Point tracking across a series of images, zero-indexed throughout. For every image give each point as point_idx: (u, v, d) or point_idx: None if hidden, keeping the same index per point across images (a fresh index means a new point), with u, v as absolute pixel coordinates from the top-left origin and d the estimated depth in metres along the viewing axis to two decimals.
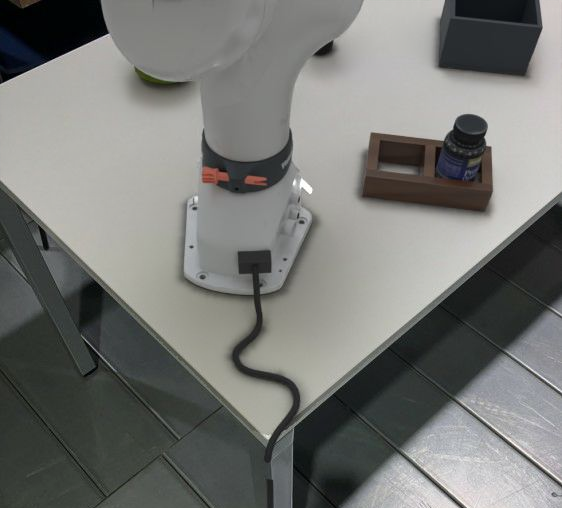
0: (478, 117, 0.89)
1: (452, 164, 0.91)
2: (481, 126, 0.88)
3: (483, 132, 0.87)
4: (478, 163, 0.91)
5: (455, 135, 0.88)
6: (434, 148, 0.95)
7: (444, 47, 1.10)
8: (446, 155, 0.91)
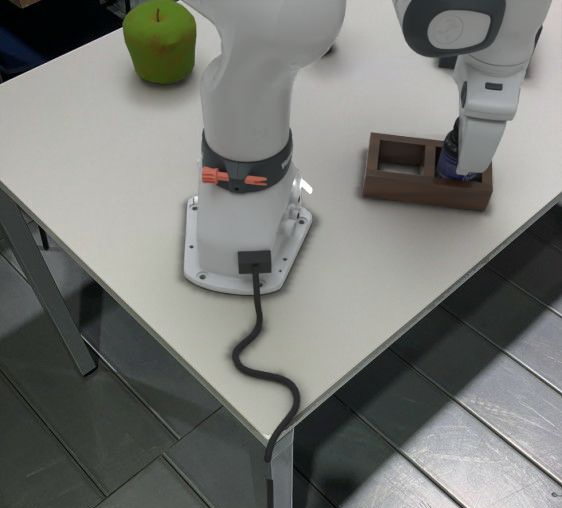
0: None
1: (452, 164, 0.91)
2: None
3: None
4: None
5: (455, 135, 0.88)
6: (434, 148, 0.95)
7: None
8: (446, 155, 0.91)
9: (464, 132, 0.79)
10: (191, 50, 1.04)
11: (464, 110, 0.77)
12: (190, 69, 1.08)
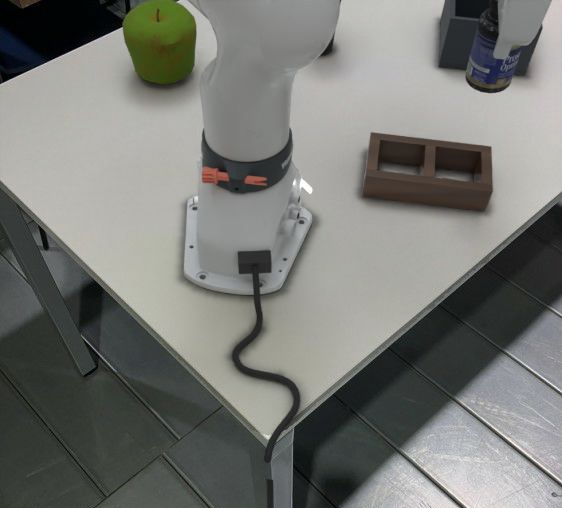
0: None
1: (489, 48, 0.77)
2: None
3: None
4: (519, 47, 0.78)
5: (492, 10, 0.75)
6: (434, 148, 0.95)
7: (444, 47, 1.10)
8: (481, 38, 0.77)
9: None
10: (191, 50, 1.04)
11: None
12: (190, 69, 1.08)
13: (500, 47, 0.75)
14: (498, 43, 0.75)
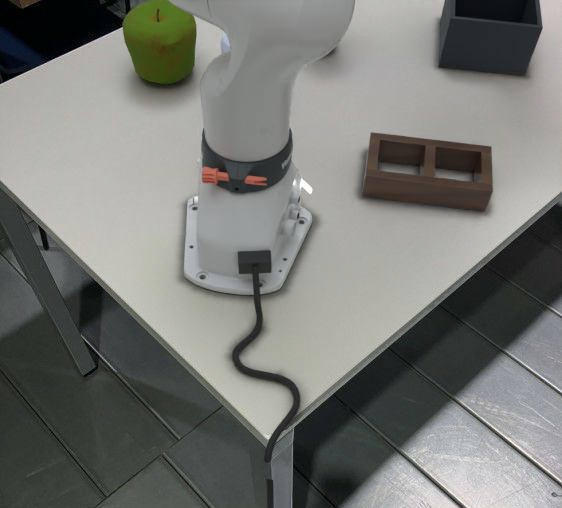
0: None
1: None
2: None
3: None
4: None
5: None
6: (434, 148, 0.95)
7: (444, 47, 1.10)
8: None
9: None
10: (191, 50, 1.04)
11: None
12: (190, 69, 1.08)
13: None
14: None
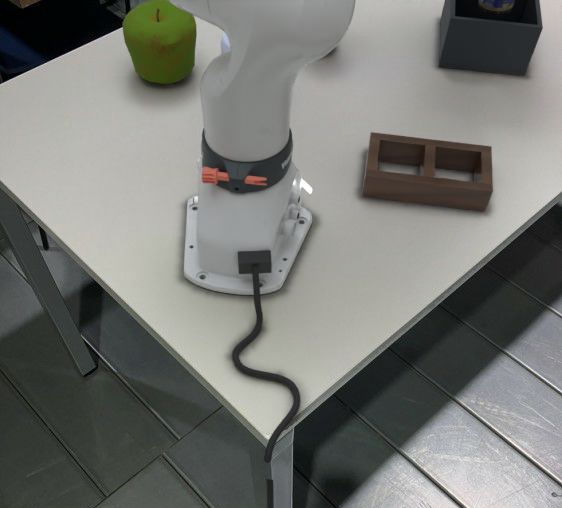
0: None
1: None
2: None
3: None
4: None
5: None
6: (434, 148, 0.95)
7: (444, 47, 1.10)
8: None
9: None
10: (191, 50, 1.04)
11: None
12: (190, 69, 1.08)
13: None
14: None
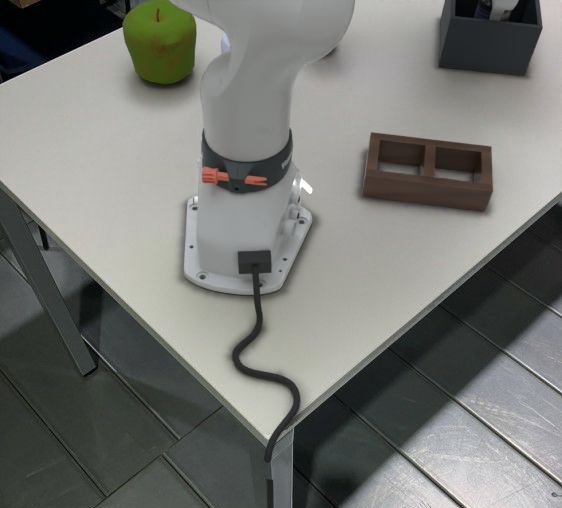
0: None
1: (486, 18, 1.10)
2: None
3: None
4: (507, 18, 1.10)
5: None
6: (434, 148, 0.95)
7: (444, 47, 1.10)
8: (481, 11, 1.10)
9: None
10: (191, 50, 1.04)
11: None
12: (190, 69, 1.08)
13: (493, 16, 1.07)
14: (492, 13, 1.06)
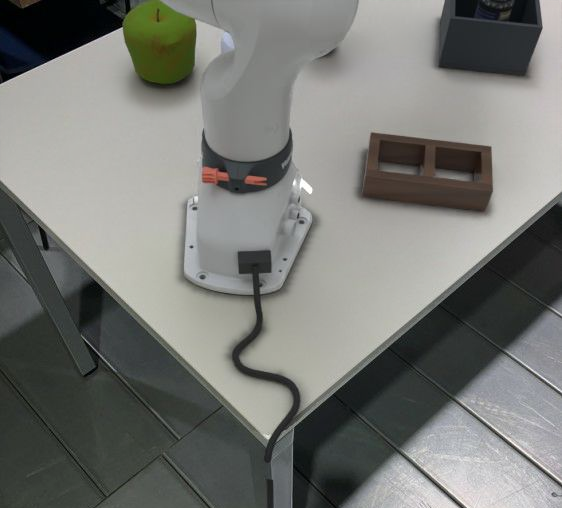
0: None
1: (486, 18, 1.10)
2: None
3: None
4: (507, 18, 1.10)
5: None
6: (434, 148, 0.95)
7: (444, 47, 1.10)
8: (481, 11, 1.10)
9: None
10: (191, 50, 1.04)
11: None
12: (190, 69, 1.08)
13: None
14: None
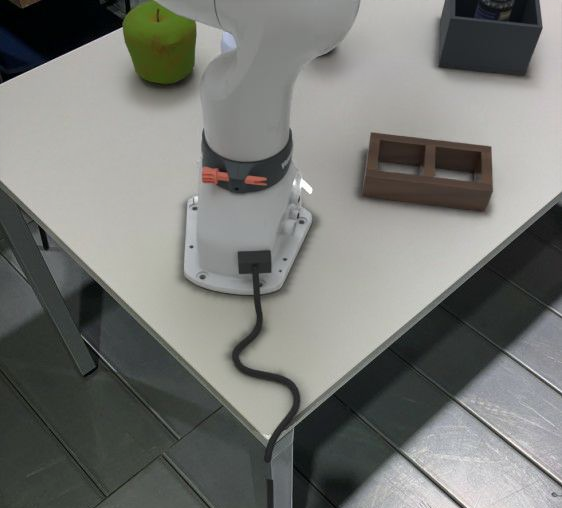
0: None
1: (486, 18, 1.10)
2: None
3: None
4: (507, 18, 1.10)
5: None
6: (434, 148, 0.95)
7: (444, 47, 1.10)
8: (481, 11, 1.10)
9: None
10: (191, 50, 1.04)
11: None
12: (190, 69, 1.08)
13: None
14: None
